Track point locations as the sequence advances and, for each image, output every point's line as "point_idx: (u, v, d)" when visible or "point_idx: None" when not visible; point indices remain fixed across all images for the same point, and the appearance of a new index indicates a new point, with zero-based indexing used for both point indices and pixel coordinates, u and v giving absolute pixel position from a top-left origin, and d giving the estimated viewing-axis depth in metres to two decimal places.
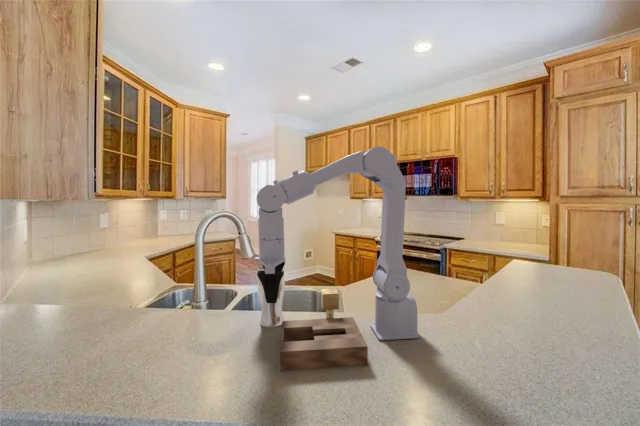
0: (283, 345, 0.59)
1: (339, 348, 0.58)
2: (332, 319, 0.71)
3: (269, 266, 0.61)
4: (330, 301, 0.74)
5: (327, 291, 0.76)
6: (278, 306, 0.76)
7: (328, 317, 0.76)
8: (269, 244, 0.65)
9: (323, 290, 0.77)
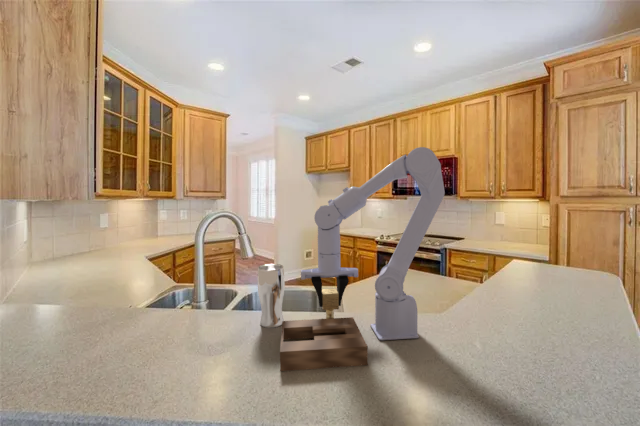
0: (283, 345, 0.59)
1: (339, 348, 0.58)
2: (332, 319, 0.71)
3: None
4: (330, 301, 0.74)
5: (327, 291, 0.76)
6: (278, 306, 0.76)
7: (328, 317, 0.76)
8: (318, 256, 0.76)
9: (323, 290, 0.77)
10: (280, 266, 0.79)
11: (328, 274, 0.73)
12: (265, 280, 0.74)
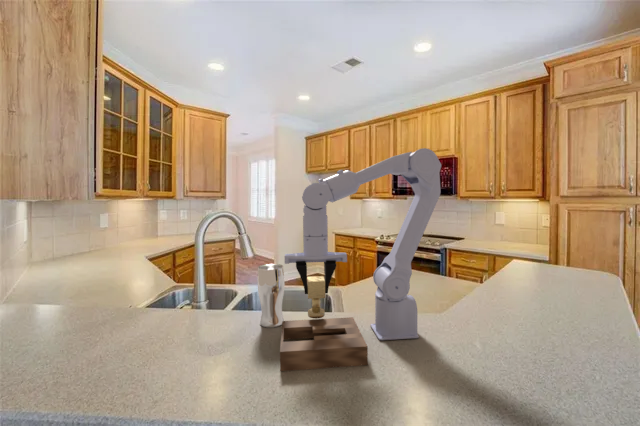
0: (283, 345, 0.59)
1: (339, 348, 0.58)
2: (332, 319, 0.71)
3: None
4: (315, 289, 0.69)
5: (313, 278, 0.70)
6: (278, 306, 0.77)
7: (314, 306, 0.70)
8: (303, 239, 0.70)
9: (309, 277, 0.71)
10: (280, 266, 0.80)
11: (313, 258, 0.67)
12: (265, 279, 0.75)
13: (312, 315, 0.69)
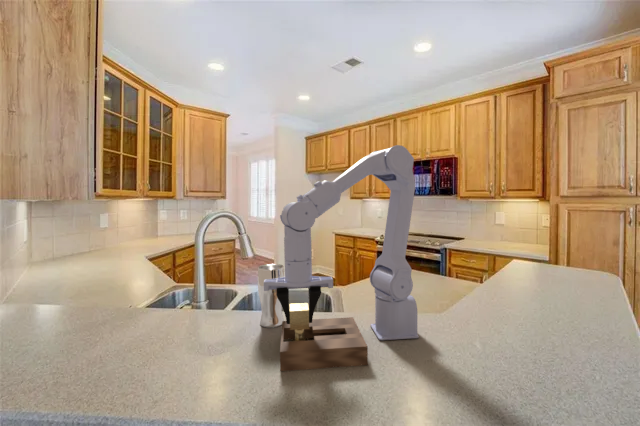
0: (283, 345, 0.59)
1: (339, 348, 0.58)
2: (332, 319, 0.71)
3: (264, 282, 0.63)
4: (298, 319, 0.62)
5: (296, 307, 0.64)
6: (278, 306, 0.77)
7: (297, 337, 0.64)
8: None
9: (292, 305, 0.65)
10: (280, 266, 0.80)
11: (296, 285, 0.60)
12: None
13: None
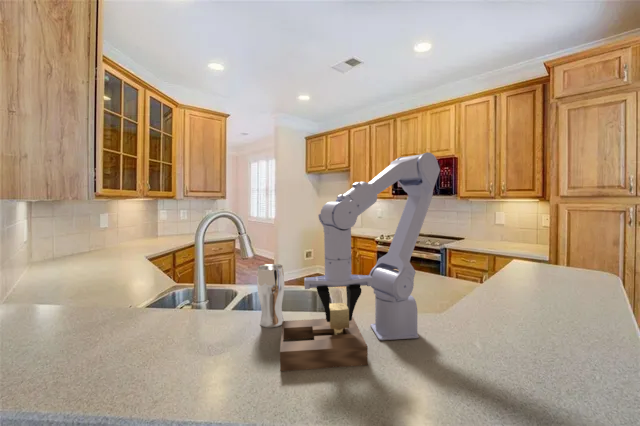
0: (283, 345, 0.59)
1: (339, 348, 0.58)
2: None
3: (304, 280, 0.63)
4: (339, 319, 0.63)
5: (336, 306, 0.65)
6: (278, 306, 0.77)
7: None
8: None
9: (330, 305, 0.66)
10: (279, 266, 0.80)
11: (337, 283, 0.61)
12: (265, 280, 0.74)
13: None
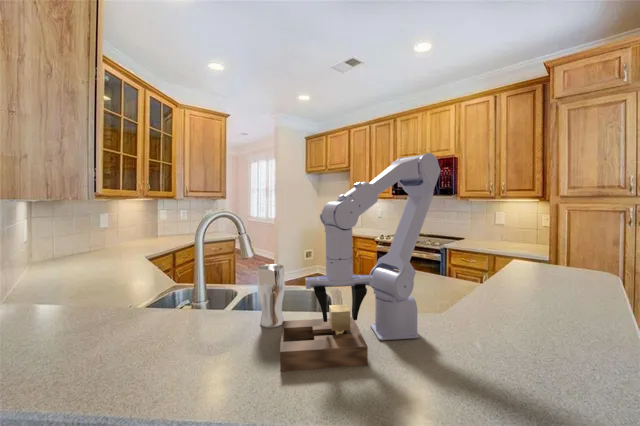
0: (283, 345, 0.59)
1: (339, 348, 0.58)
2: None
3: None
4: (340, 320, 0.63)
5: (337, 308, 0.65)
6: (278, 306, 0.77)
7: None
8: (326, 261, 0.64)
9: (332, 306, 0.66)
10: (280, 266, 0.79)
11: (338, 283, 0.61)
12: (265, 280, 0.74)
13: None
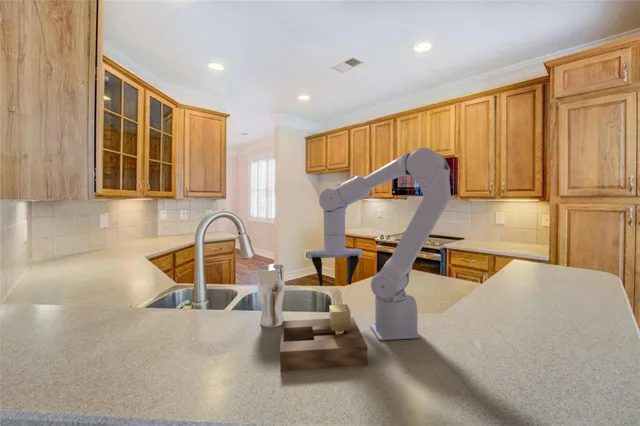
0: (283, 345, 0.59)
1: (339, 348, 0.58)
2: None
3: None
4: (340, 320, 0.63)
5: (337, 308, 0.65)
6: (278, 306, 0.77)
7: None
8: None
9: (332, 306, 0.66)
10: (280, 266, 0.80)
11: (334, 254, 0.77)
12: (265, 280, 0.74)
13: None
